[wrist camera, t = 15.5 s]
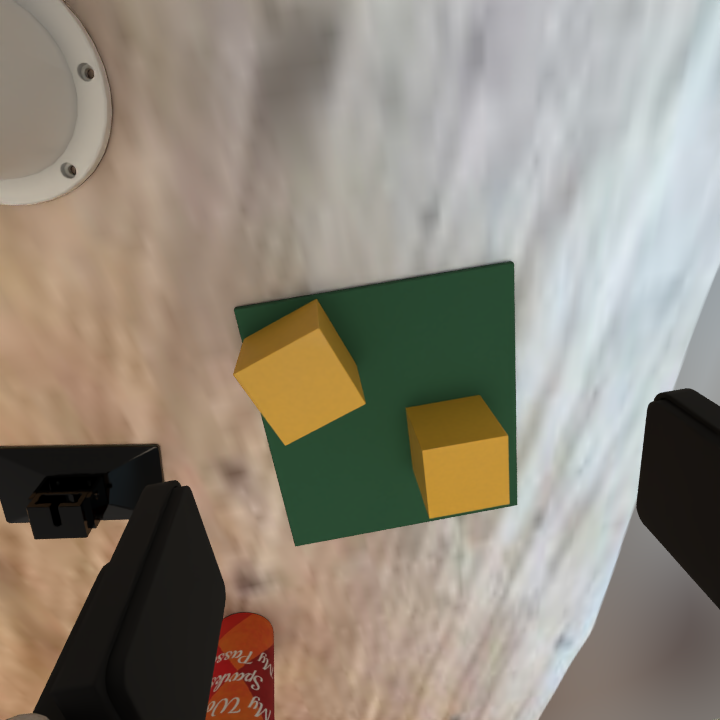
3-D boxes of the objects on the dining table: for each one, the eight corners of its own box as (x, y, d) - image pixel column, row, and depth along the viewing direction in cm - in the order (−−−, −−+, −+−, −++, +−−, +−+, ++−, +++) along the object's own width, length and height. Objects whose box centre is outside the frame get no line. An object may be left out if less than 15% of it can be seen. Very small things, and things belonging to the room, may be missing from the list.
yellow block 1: (287, 402, 38) (285, 446, 32) (243, 338, 35) (232, 374, 30) (357, 365, 37) (366, 404, 32) (316, 298, 35) (319, 327, 29)
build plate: (159, 443, 39) (142, 480, 35) (169, 516, 42) (155, 559, 37) (-13, 446, 37) (-53, 485, 33) (9, 522, 40) (-24, 567, 36)
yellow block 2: (412, 469, 41) (429, 519, 36) (405, 407, 39) (422, 450, 34) (482, 456, 42) (509, 504, 36) (479, 394, 39) (508, 435, 34)
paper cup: (286, 603, 47) (279, 775, 34) (283, 658, 50) (275, 836, 37) (200, 604, 46) (160, 782, 33) (202, 661, 49) (166, 844, 36)
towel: (295, 541, 44) (295, 546, 43) (234, 307, 35) (233, 309, 34) (514, 500, 45) (517, 505, 44) (511, 261, 36) (514, 262, 35)
